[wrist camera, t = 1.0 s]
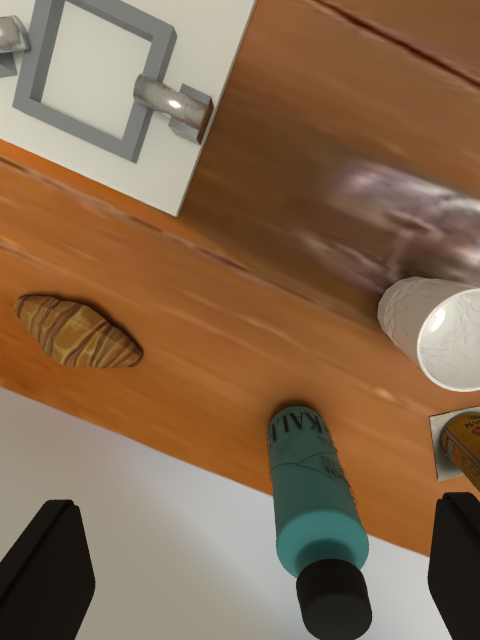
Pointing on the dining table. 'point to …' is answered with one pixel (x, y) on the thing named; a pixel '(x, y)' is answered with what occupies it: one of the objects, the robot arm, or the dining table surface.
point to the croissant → (75, 333)
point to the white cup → (436, 328)
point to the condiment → (457, 444)
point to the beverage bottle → (318, 526)
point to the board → (117, 86)
